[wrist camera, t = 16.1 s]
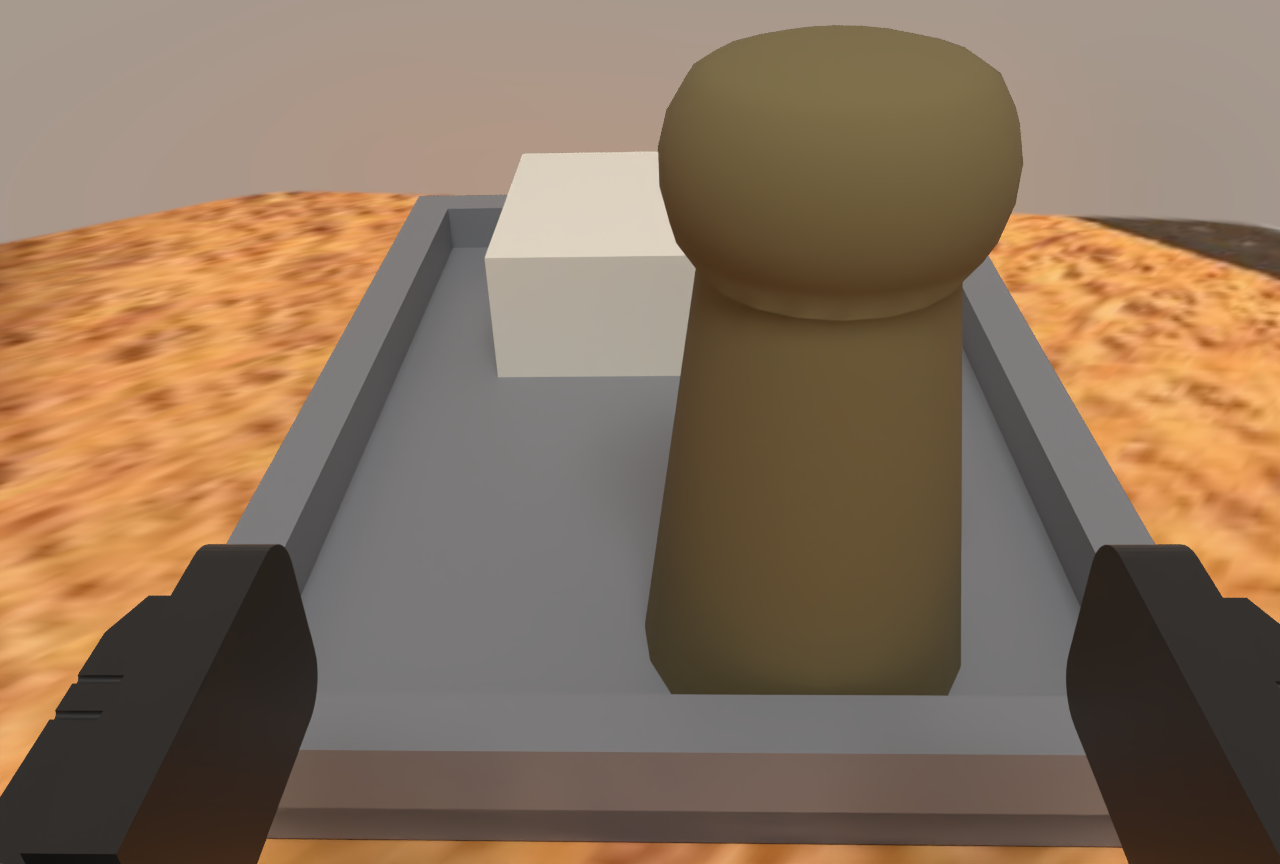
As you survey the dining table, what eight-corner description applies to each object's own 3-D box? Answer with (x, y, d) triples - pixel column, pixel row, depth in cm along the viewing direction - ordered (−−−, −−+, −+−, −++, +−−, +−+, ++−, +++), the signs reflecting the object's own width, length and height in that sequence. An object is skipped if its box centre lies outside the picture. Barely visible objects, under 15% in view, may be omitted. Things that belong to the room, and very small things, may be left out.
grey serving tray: (150, 836, 18) (112, 748, 17) (427, 255, 38) (419, 196, 37) (1238, 847, 18) (1277, 756, 16) (941, 249, 38) (949, 188, 36)
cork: (701, 508, 24) (705, -14, 18) (980, 566, 22) (1085, 4, 16) (595, 699, 20) (553, 82, 14) (936, 793, 18) (1063, 123, 12)
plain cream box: (497, 377, 29) (484, 258, 28) (532, 256, 36) (522, 153, 34) (868, 374, 29) (881, 253, 27) (833, 252, 36) (841, 148, 34)
